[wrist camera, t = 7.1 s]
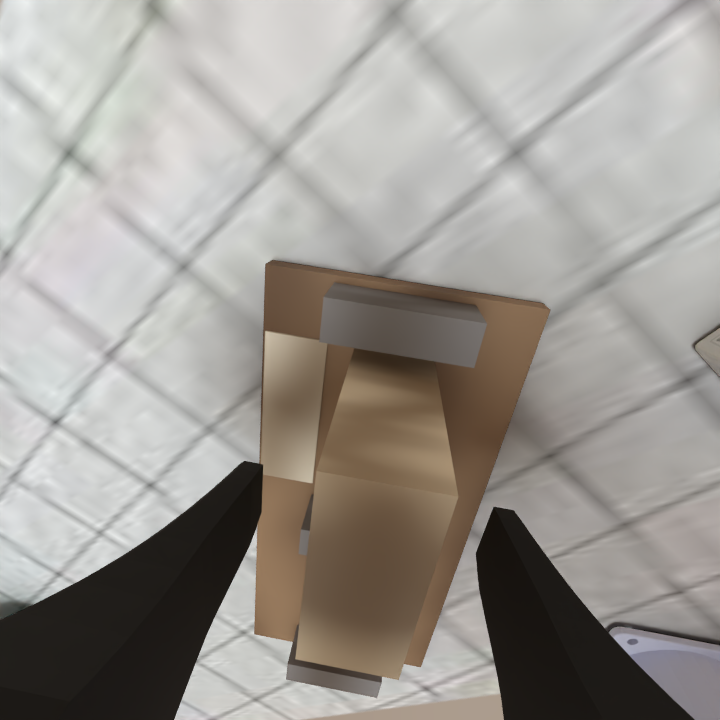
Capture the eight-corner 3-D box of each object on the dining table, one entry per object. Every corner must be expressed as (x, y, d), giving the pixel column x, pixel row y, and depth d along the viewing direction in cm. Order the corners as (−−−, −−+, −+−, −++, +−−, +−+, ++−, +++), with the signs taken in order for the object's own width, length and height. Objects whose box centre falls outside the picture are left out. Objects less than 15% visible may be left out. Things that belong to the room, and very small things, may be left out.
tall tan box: (434, 358, 14) (458, 497, 8) (400, 498, 17) (398, 679, 11) (353, 345, 14) (312, 470, 8) (333, 485, 17) (292, 658, 11)
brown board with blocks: (543, 303, 14) (574, 329, 11) (420, 652, 23) (422, 709, 21) (272, 260, 14) (243, 275, 12) (259, 620, 23) (241, 672, 21)
